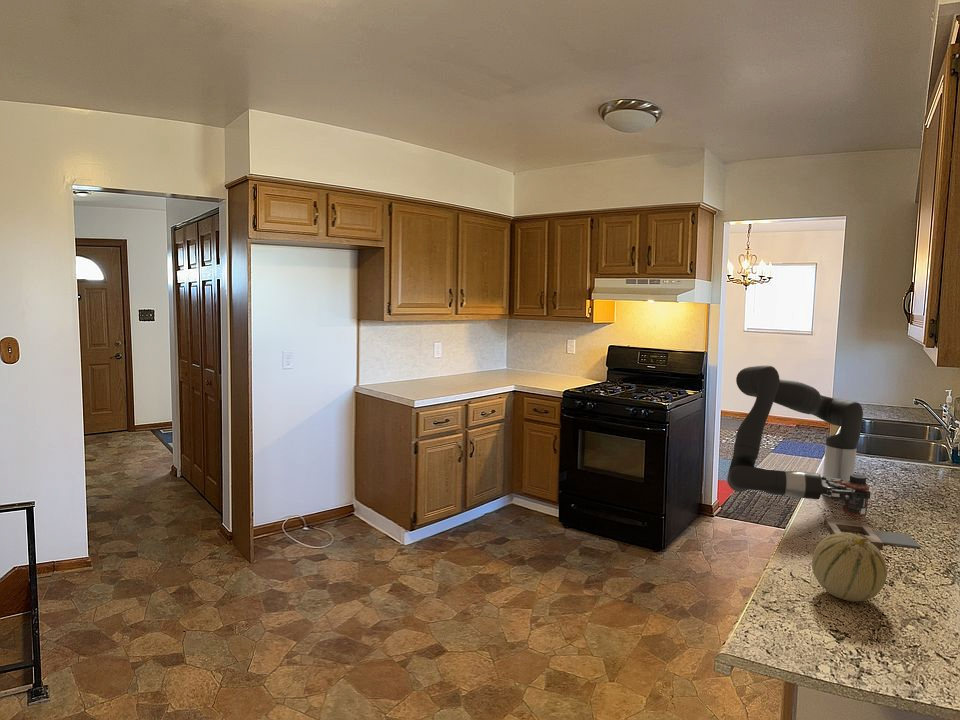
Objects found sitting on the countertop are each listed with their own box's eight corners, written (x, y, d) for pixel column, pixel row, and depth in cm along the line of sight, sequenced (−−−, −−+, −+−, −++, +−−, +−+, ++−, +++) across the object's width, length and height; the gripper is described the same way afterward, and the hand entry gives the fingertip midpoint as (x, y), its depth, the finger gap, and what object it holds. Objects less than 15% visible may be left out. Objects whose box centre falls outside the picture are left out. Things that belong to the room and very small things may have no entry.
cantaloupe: (816, 576, 153) (822, 517, 151) (887, 595, 144) (894, 533, 142) (802, 598, 142) (807, 534, 140) (878, 621, 133) (885, 553, 131)
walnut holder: (824, 522, 190) (824, 517, 189) (865, 527, 187) (865, 522, 186) (837, 542, 174) (838, 537, 174) (882, 548, 171) (883, 542, 171)
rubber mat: (872, 532, 183) (872, 530, 183) (908, 536, 180) (908, 534, 180) (882, 543, 174) (882, 542, 174) (920, 548, 172) (920, 546, 172)
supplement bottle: (869, 519, 176) (874, 480, 175) (846, 516, 178) (850, 478, 176) (861, 511, 182) (865, 473, 181) (839, 509, 183) (843, 471, 182)
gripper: (807, 479, 176) (875, 486, 171) (797, 465, 189) (860, 471, 185) (805, 505, 177) (873, 512, 172) (795, 489, 190) (858, 496, 186)
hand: (866, 491), depth 178 cm, fingers closed on supplement bottle, 6 cm apart
